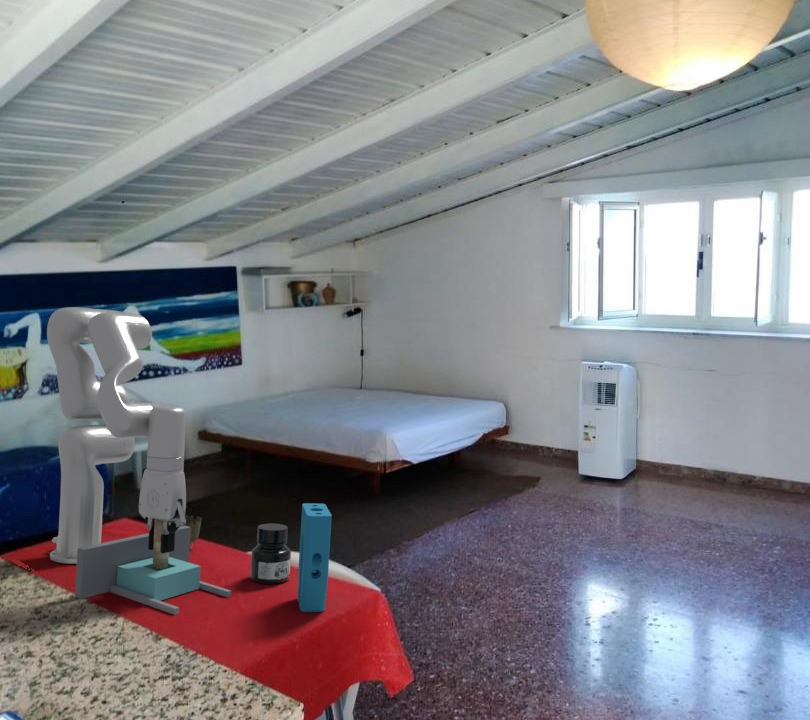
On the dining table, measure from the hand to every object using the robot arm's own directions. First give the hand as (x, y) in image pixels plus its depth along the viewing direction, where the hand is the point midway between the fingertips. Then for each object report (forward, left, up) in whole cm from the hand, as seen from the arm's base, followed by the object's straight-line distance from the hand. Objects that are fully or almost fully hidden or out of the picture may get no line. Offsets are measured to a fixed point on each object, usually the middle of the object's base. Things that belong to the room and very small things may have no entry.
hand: (161, 549), depth 162 cm
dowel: (0, 0, -4) cm, 4 cm away
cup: (-21, +25, -9) cm, 34 cm away
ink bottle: (+11, +22, -9) cm, 26 cm away
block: (+29, +15, -9) cm, 34 cm away
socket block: (0, 0, -9) cm, 9 cm away
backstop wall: (+3, 0, -9) cm, 9 cm away
